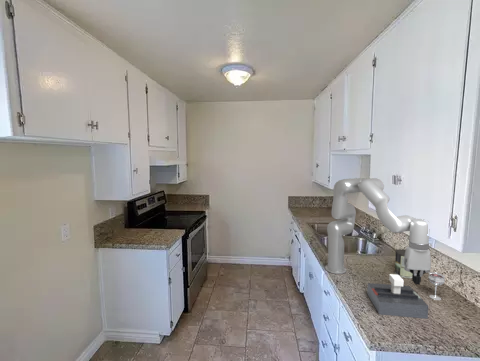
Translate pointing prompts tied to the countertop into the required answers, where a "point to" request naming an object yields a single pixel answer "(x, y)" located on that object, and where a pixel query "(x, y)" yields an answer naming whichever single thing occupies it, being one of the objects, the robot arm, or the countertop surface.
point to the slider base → (397, 301)
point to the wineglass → (436, 282)
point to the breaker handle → (396, 283)
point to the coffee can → (401, 264)
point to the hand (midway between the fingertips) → (416, 283)
